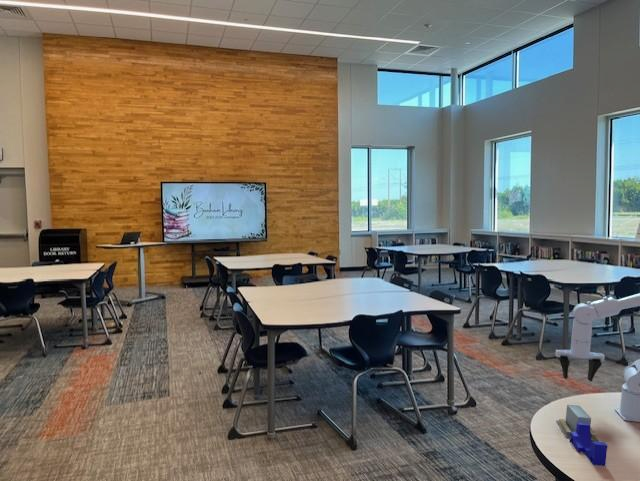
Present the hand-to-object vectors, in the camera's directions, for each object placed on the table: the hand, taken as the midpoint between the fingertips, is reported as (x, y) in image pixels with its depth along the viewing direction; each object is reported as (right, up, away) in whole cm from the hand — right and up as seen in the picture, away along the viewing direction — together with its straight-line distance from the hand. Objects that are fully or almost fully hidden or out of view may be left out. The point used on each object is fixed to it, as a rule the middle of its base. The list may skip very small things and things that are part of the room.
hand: (577, 378), depth 159 cm
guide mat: (-9, -11, -16) cm, 21 cm away
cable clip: (-13, -13, -28) cm, 33 cm away
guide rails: (-9, -11, -16) cm, 21 cm away
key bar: (-9, -11, -16) cm, 21 cm away
